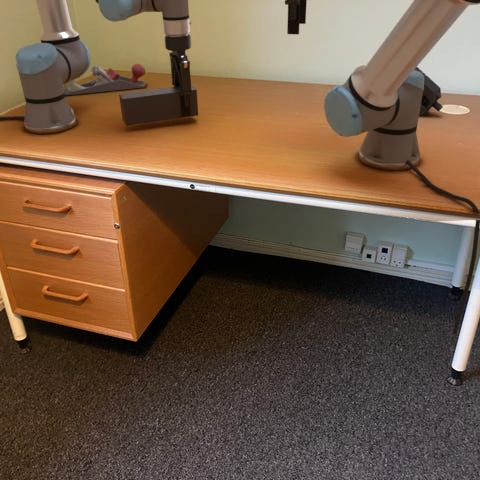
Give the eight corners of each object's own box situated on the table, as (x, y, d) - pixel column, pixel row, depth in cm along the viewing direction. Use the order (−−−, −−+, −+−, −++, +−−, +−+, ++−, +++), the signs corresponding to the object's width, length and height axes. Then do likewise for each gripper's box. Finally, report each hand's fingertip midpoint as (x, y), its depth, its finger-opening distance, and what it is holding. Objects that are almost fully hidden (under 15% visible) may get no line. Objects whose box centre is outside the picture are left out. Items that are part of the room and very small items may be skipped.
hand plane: (62, 90, 197) (53, 48, 189) (145, 82, 205) (140, 41, 197) (62, 96, 191) (54, 53, 184) (148, 87, 199) (143, 45, 191)
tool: (380, 92, 178) (407, 55, 167) (423, 130, 174) (453, 95, 163) (371, 97, 174) (398, 59, 163) (415, 136, 170) (446, 100, 159)
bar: (126, 126, 158) (122, 99, 153) (122, 120, 162) (118, 93, 158) (198, 115, 164) (196, 89, 160) (193, 110, 169) (191, 84, 165)
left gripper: (199, 39, 147) (204, 120, 159) (181, 27, 162) (186, 102, 174) (173, 41, 144) (180, 124, 157) (156, 30, 159) (164, 106, 172)
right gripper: (291, -72, 132) (288, 19, 143) (275, -68, 111) (273, 38, 123) (321, -73, 131) (316, 19, 142) (311, -69, 110) (306, 39, 121)
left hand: (183, 112), depth 165 cm, fingers closed on bar, 6 cm apart
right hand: (296, 28), depth 132 cm, fingers open, 13 cm apart
